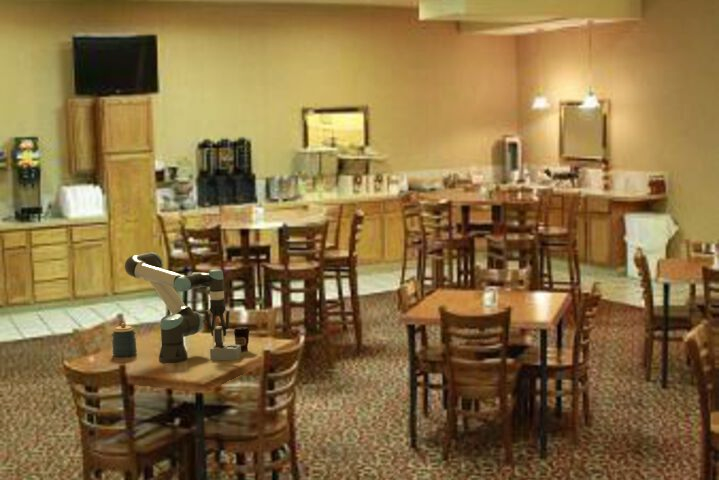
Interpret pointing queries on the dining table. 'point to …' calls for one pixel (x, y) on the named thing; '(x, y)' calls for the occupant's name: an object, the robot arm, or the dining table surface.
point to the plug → (218, 336)
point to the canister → (124, 341)
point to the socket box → (225, 352)
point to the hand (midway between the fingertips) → (219, 341)
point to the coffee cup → (242, 337)
